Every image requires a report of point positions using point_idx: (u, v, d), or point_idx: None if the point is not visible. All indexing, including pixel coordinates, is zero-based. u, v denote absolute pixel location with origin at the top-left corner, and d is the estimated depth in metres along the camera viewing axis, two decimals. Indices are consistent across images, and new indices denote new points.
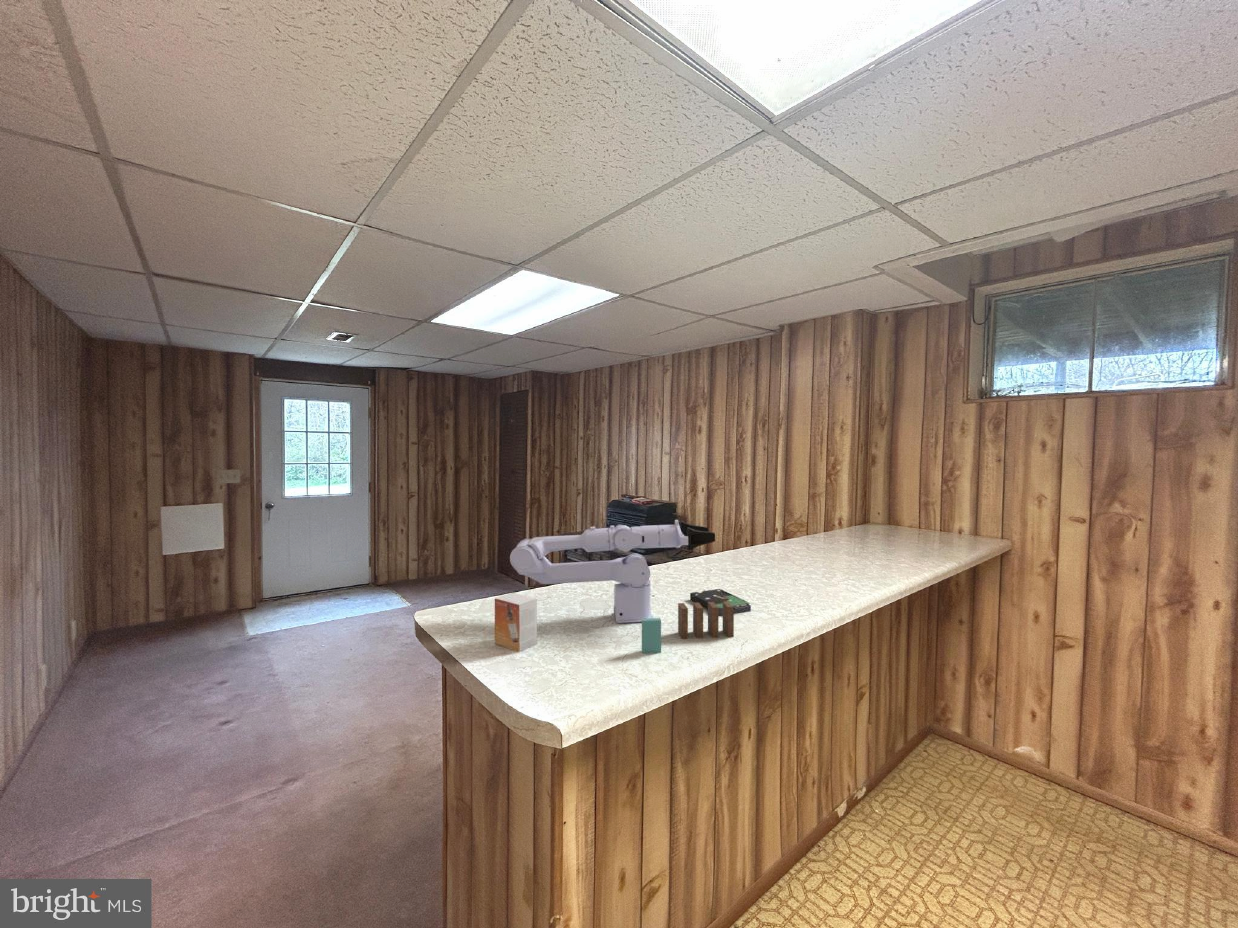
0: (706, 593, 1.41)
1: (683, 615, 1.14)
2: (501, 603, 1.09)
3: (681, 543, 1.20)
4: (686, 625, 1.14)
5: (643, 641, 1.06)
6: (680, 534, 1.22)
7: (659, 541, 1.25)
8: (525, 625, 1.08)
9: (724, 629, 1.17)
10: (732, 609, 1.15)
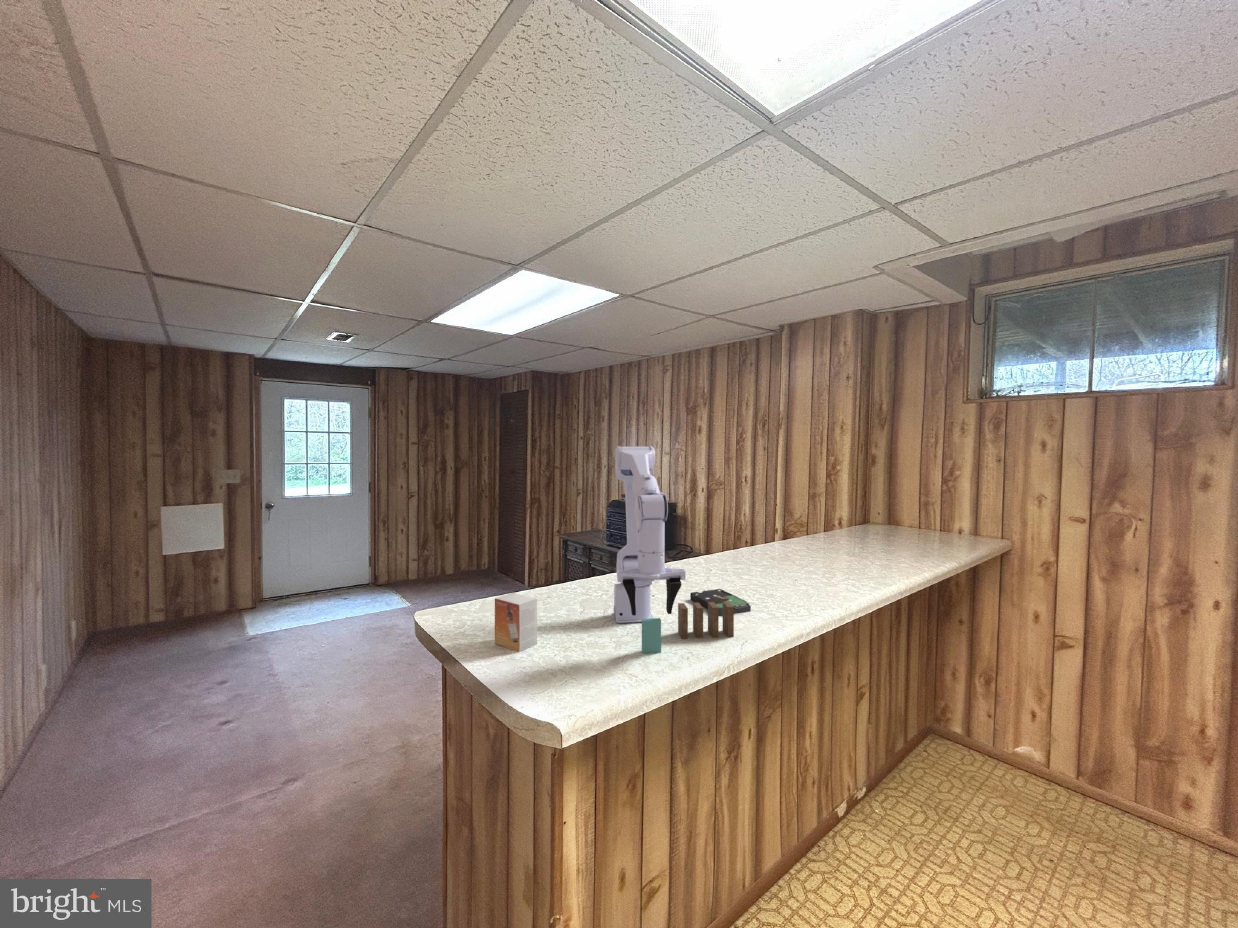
0: (706, 593, 1.41)
1: (683, 615, 1.14)
2: (501, 603, 1.09)
3: (617, 572, 1.06)
4: (686, 625, 1.14)
5: (643, 641, 1.06)
6: (627, 574, 1.05)
7: None
8: (525, 625, 1.08)
9: (724, 629, 1.17)
10: (732, 609, 1.15)
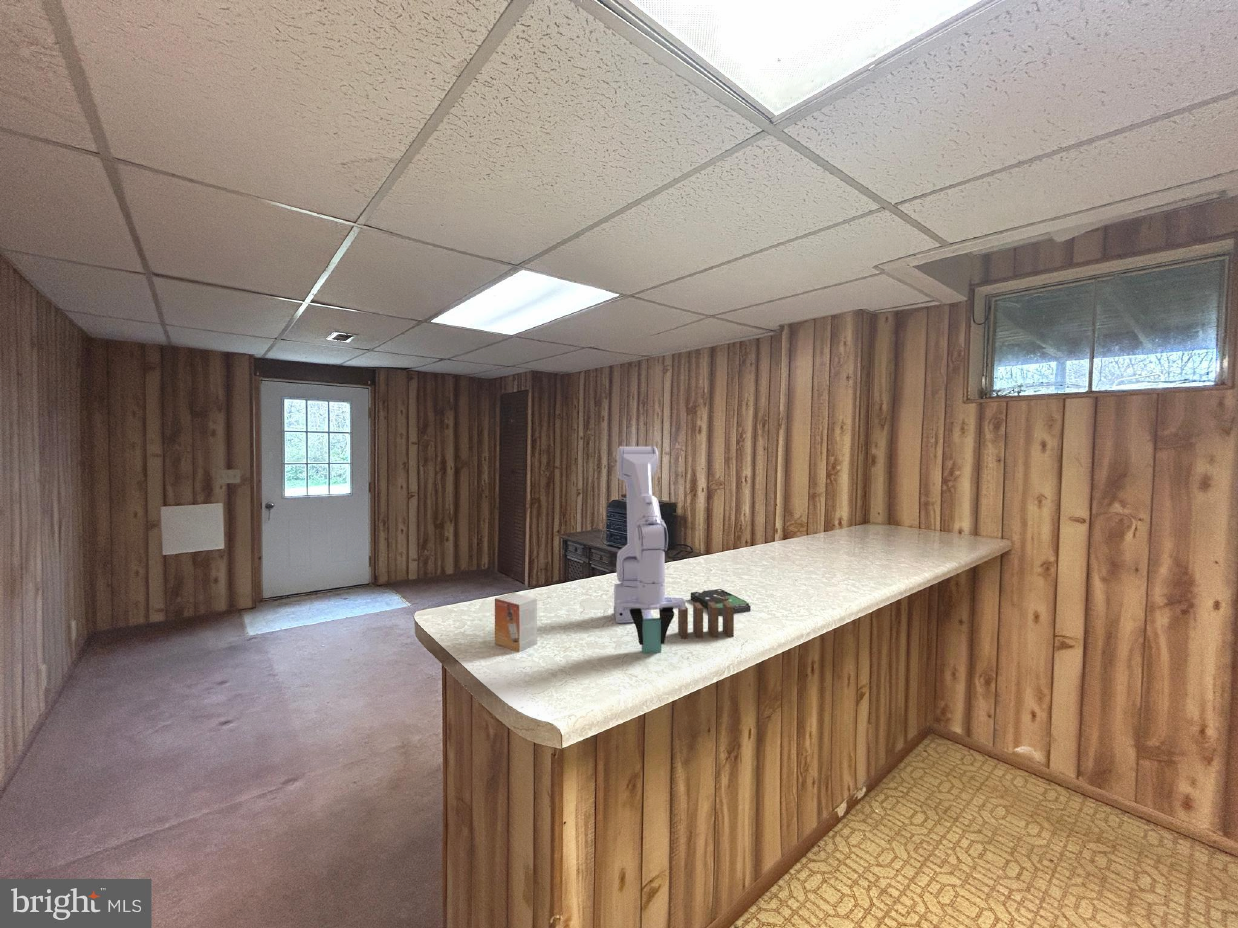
0: (706, 593, 1.41)
1: (683, 615, 1.14)
2: (501, 603, 1.09)
3: (617, 601, 1.06)
4: (686, 625, 1.14)
5: (643, 641, 1.06)
6: (627, 604, 1.05)
7: None
8: (525, 625, 1.08)
9: (724, 629, 1.17)
10: (732, 609, 1.15)
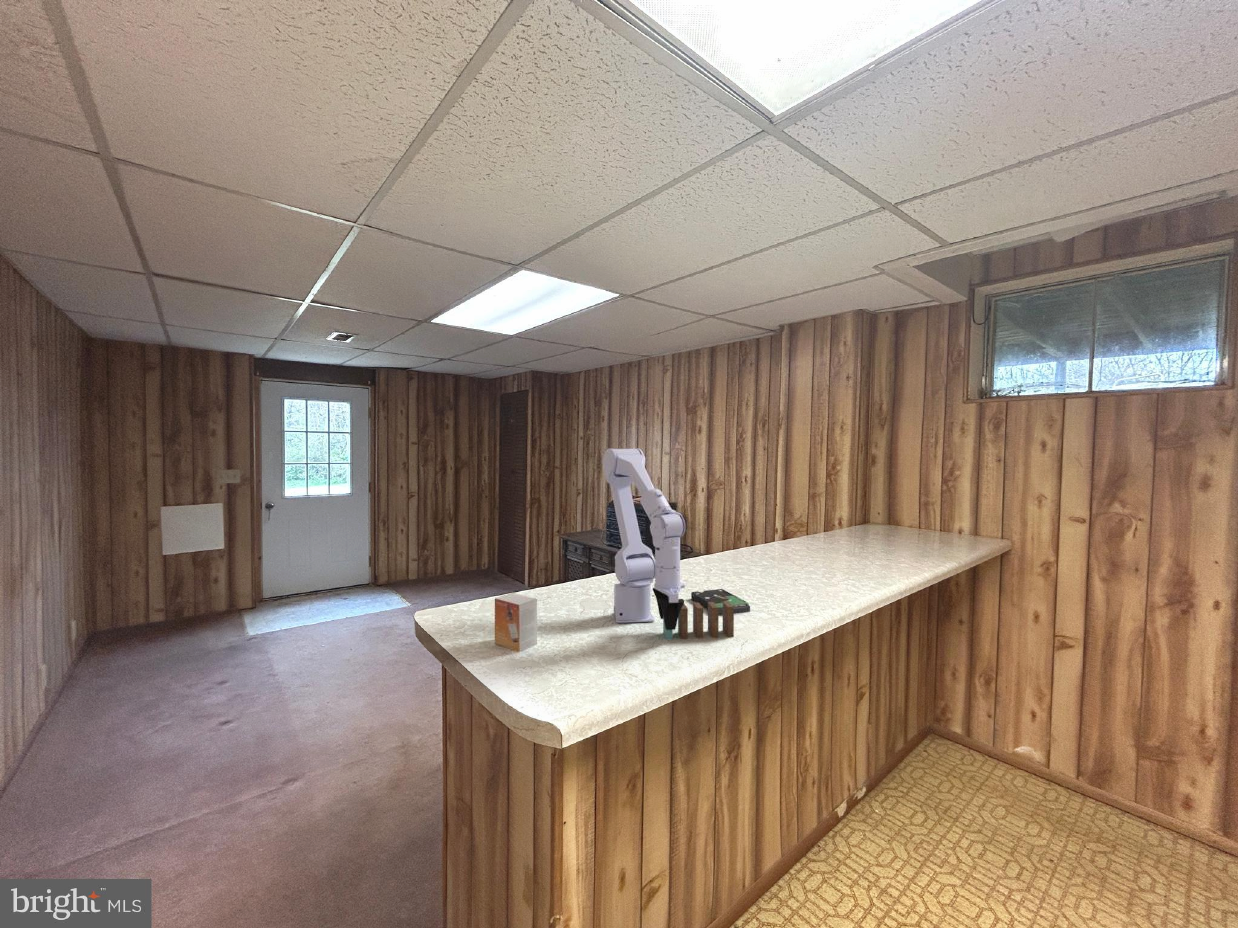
0: (707, 593, 1.42)
1: (683, 615, 1.14)
2: (501, 603, 1.09)
3: (671, 595, 1.08)
4: (686, 625, 1.14)
5: None
6: (677, 592, 1.10)
7: (666, 568, 1.12)
8: (525, 625, 1.08)
9: (724, 629, 1.17)
10: (732, 609, 1.15)
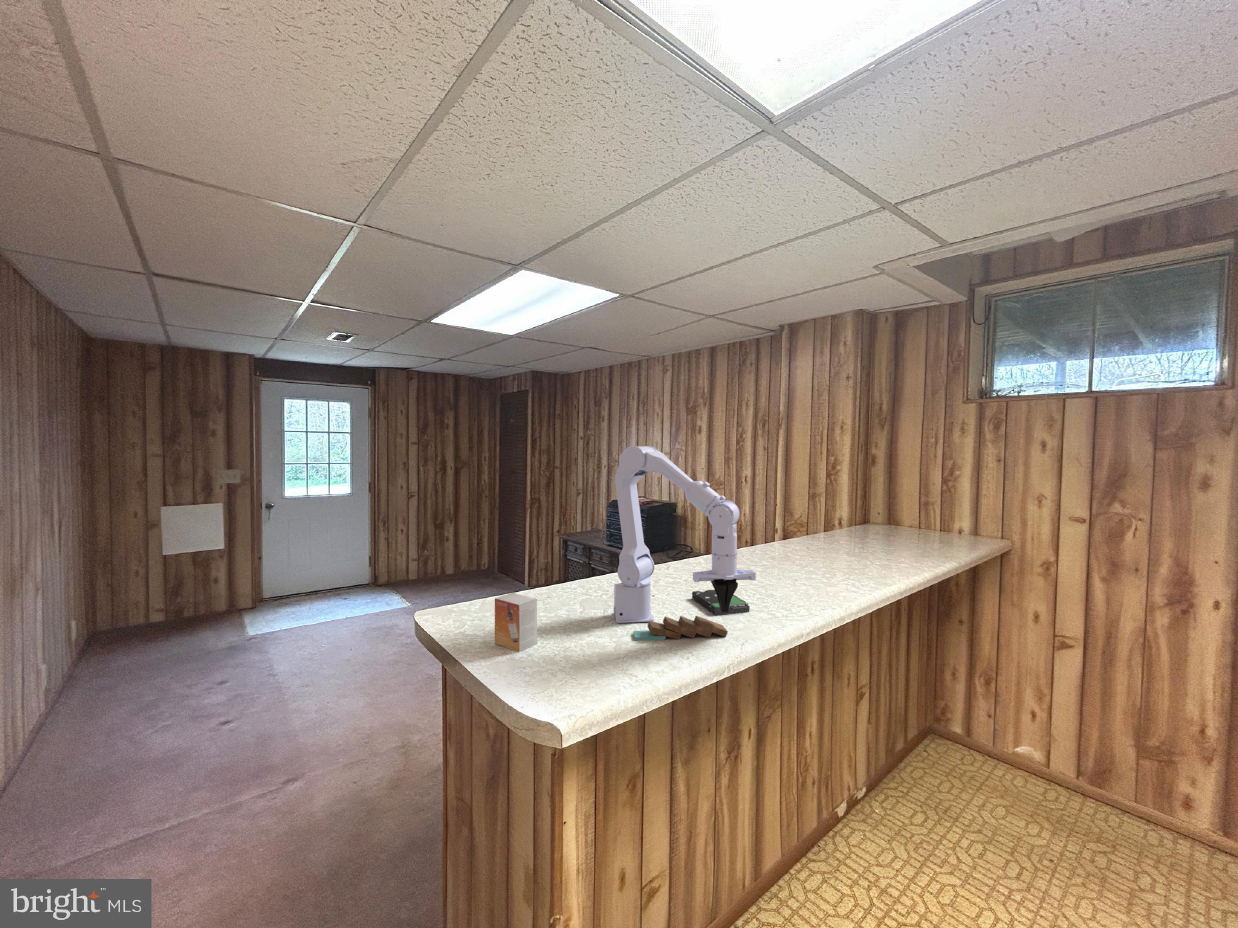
0: (708, 592, 1.42)
1: (657, 632, 1.13)
2: (501, 603, 1.09)
3: (693, 573, 1.16)
4: (668, 632, 1.13)
5: (654, 636, 1.14)
6: (703, 575, 1.14)
7: None
8: (525, 625, 1.08)
9: None
10: (702, 623, 1.14)
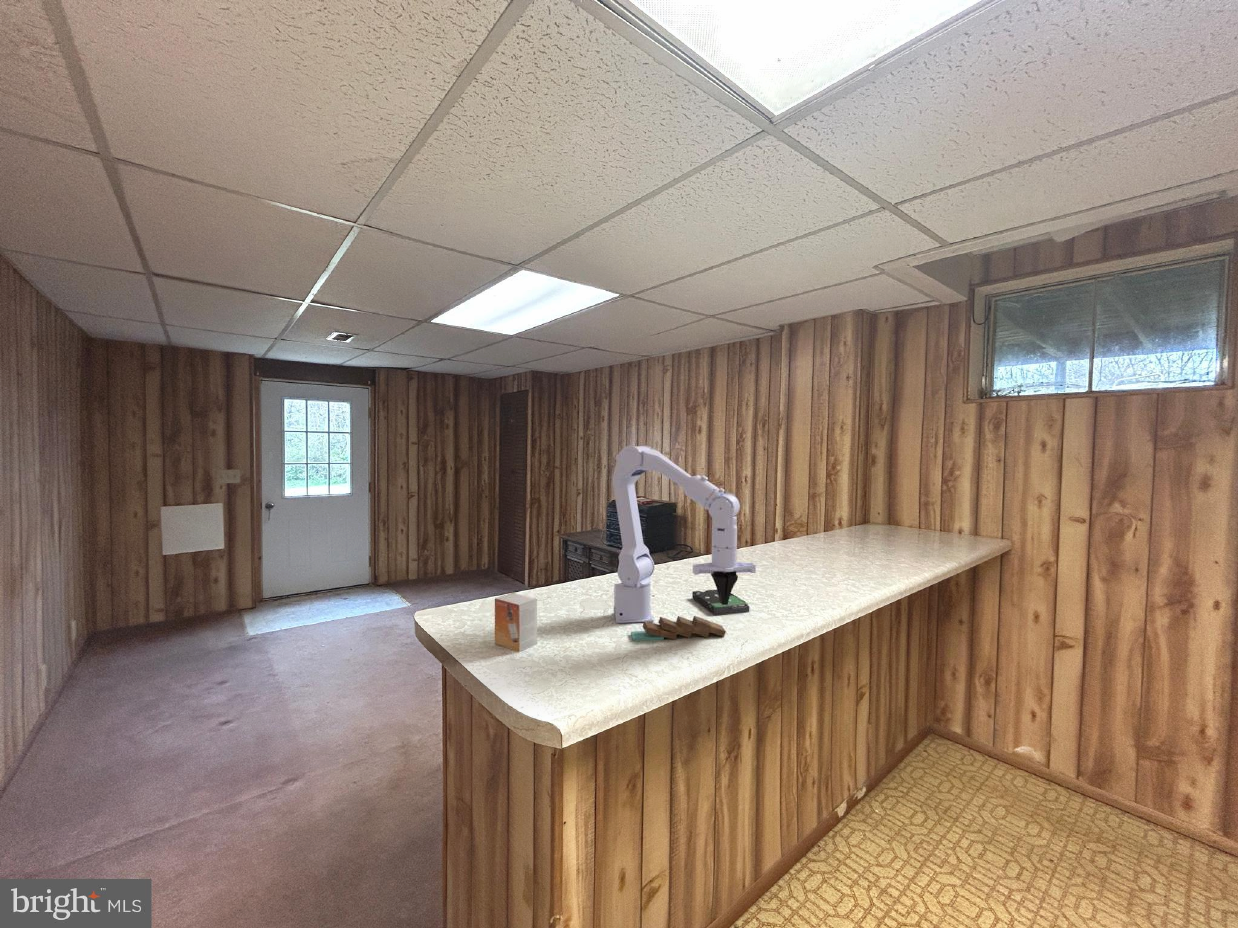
0: (708, 592, 1.42)
1: (653, 633, 1.12)
2: (501, 603, 1.09)
3: (693, 565, 1.16)
4: (664, 632, 1.13)
5: (652, 636, 1.13)
6: (703, 568, 1.14)
7: None
8: (525, 625, 1.08)
9: None
10: (700, 623, 1.14)
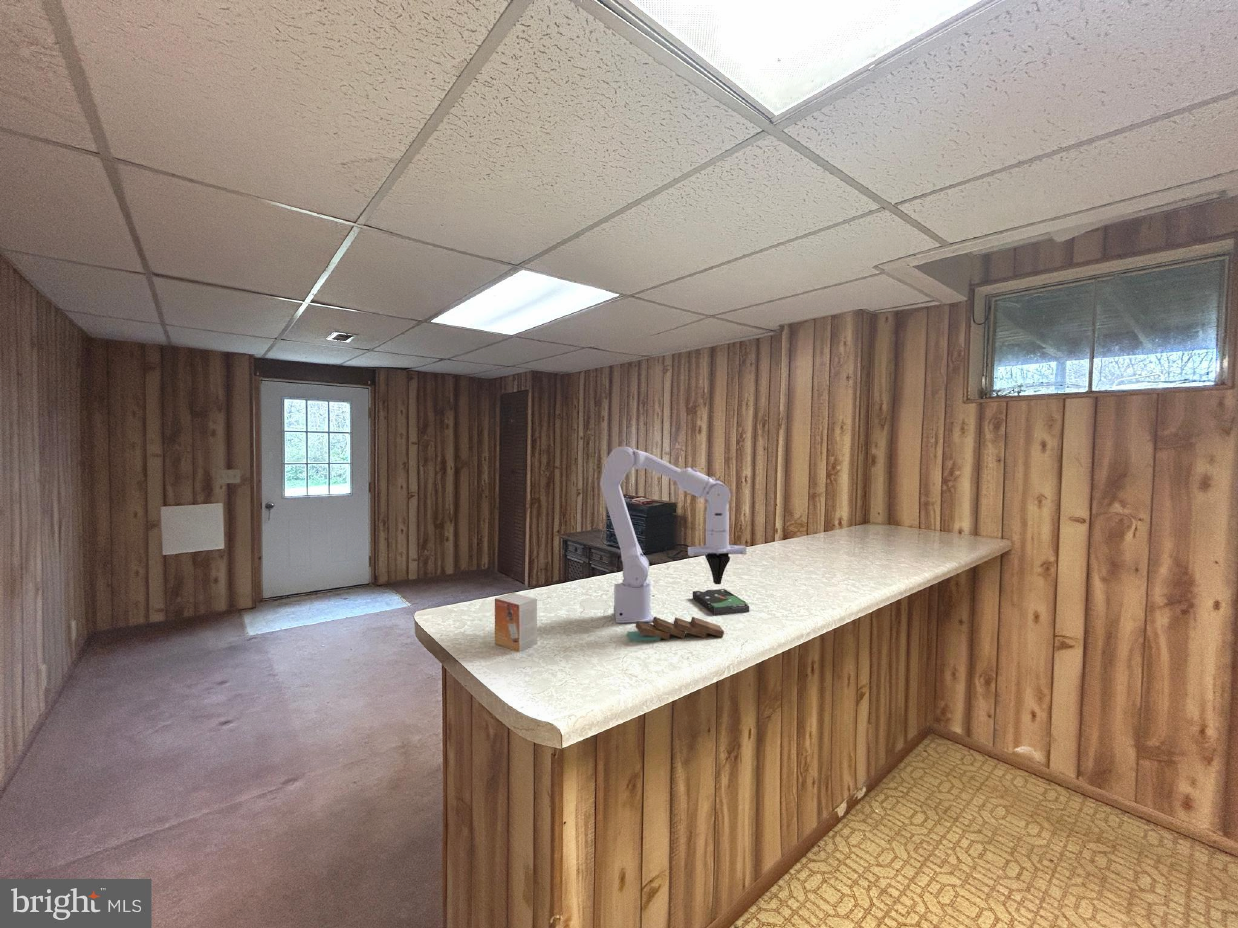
0: (708, 592, 1.42)
1: (647, 633, 1.11)
2: (501, 603, 1.09)
3: (688, 548, 1.25)
4: (657, 632, 1.12)
5: (649, 637, 1.13)
6: (697, 550, 1.23)
7: None
8: (525, 625, 1.08)
9: None
10: (698, 624, 1.14)
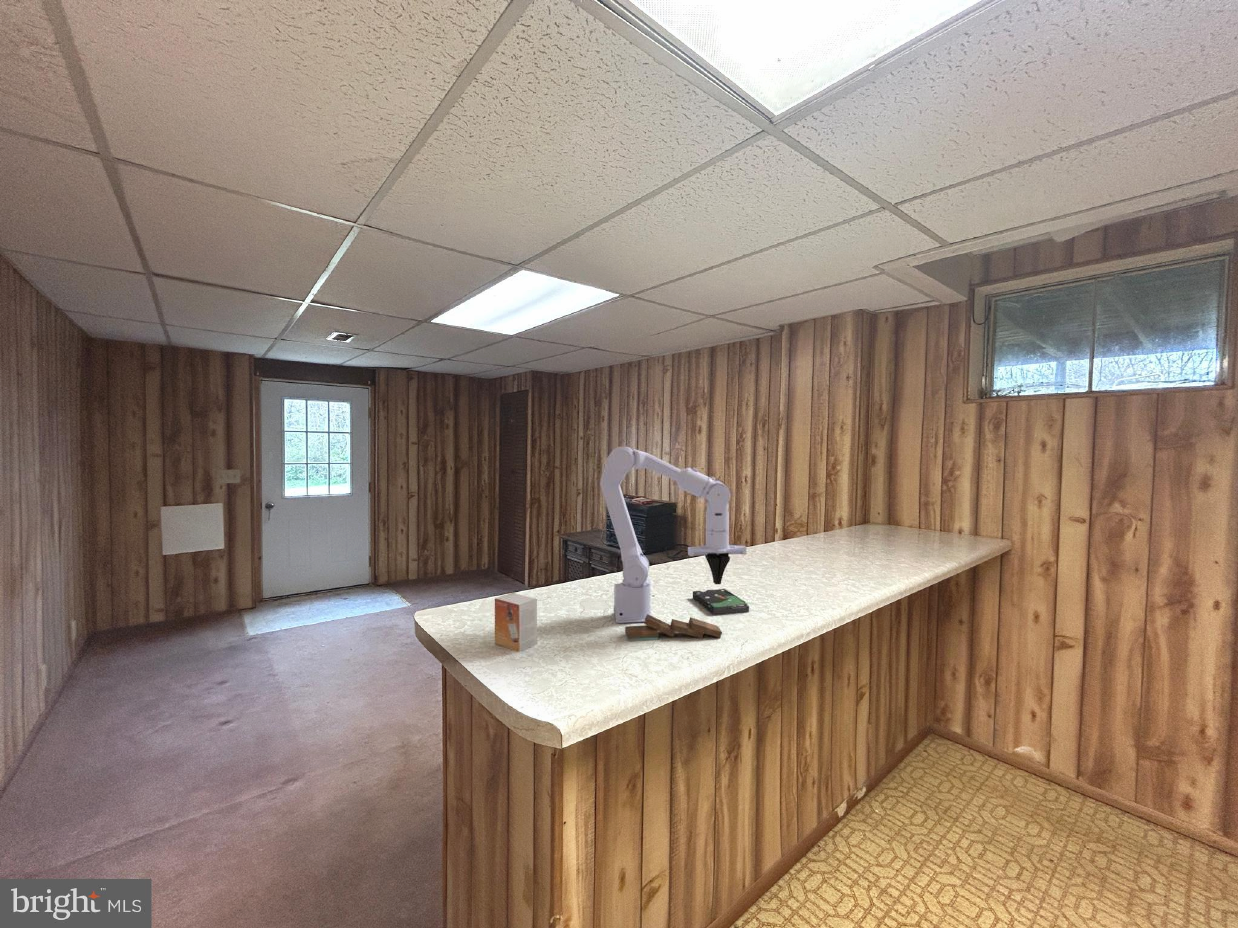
0: (708, 592, 1.42)
1: (634, 636, 1.13)
2: (501, 603, 1.09)
3: (688, 548, 1.25)
4: (645, 633, 1.13)
5: None
6: (697, 550, 1.23)
7: None
8: (525, 625, 1.08)
9: None
10: (695, 625, 1.14)
